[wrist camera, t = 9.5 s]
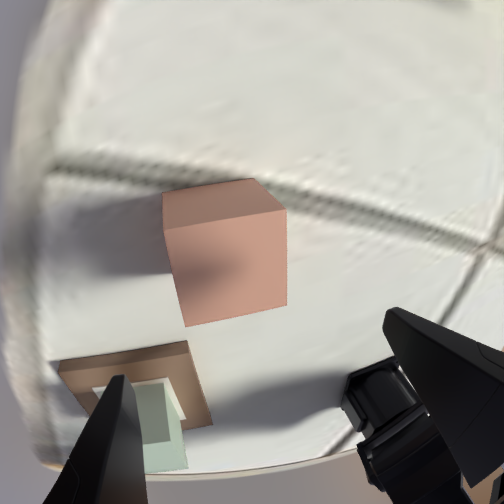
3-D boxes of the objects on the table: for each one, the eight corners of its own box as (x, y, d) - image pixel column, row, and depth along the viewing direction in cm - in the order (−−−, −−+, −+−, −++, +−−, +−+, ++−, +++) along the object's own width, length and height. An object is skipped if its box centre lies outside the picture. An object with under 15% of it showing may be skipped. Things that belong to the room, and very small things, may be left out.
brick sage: (179, 417, 23) (188, 468, 19) (124, 424, 22) (126, 475, 18) (163, 382, 21) (170, 440, 17) (100, 391, 20) (98, 448, 16)
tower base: (187, 340, 21) (189, 353, 20) (210, 414, 26) (212, 425, 25) (60, 360, 19) (57, 373, 18) (109, 429, 24) (109, 440, 23)
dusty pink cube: (253, 177, 17) (286, 209, 13) (258, 256, 20) (287, 305, 15) (162, 192, 16) (163, 230, 12) (177, 272, 19) (185, 327, 14)
